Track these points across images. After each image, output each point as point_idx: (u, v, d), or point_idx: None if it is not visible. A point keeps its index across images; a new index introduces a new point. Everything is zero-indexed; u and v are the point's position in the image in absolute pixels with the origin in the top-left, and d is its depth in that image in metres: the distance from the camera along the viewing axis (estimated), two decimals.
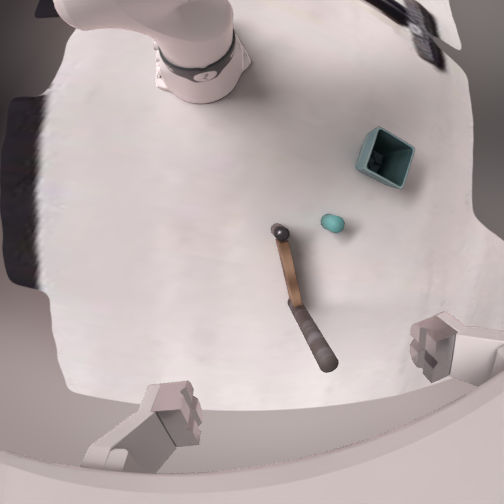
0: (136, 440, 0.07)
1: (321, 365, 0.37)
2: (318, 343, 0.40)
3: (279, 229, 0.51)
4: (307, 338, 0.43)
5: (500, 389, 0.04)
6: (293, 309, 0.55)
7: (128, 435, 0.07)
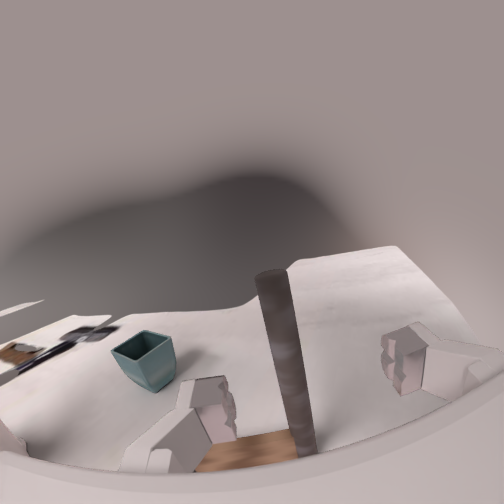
0: (176, 439, 0.07)
1: (268, 280, 0.22)
2: (265, 323, 0.24)
3: None
4: (280, 358, 0.24)
5: (500, 389, 0.04)
6: (296, 438, 0.27)
7: (168, 434, 0.07)
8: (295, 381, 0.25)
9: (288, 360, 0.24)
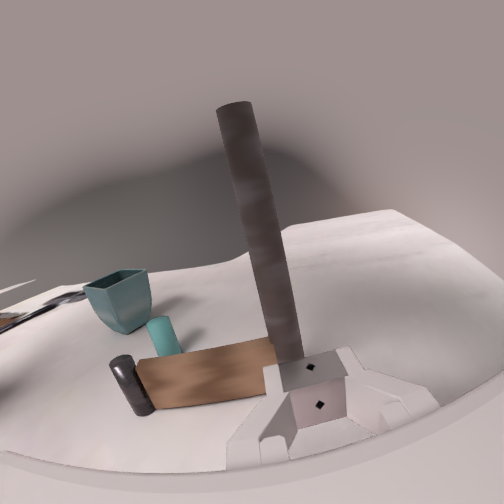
0: (276, 425, 0.07)
1: (229, 104, 0.19)
2: None
3: (111, 364, 0.24)
4: (246, 203, 0.20)
5: (500, 389, 0.04)
6: (277, 345, 0.23)
7: (271, 421, 0.07)
8: (267, 240, 0.21)
9: (256, 205, 0.20)
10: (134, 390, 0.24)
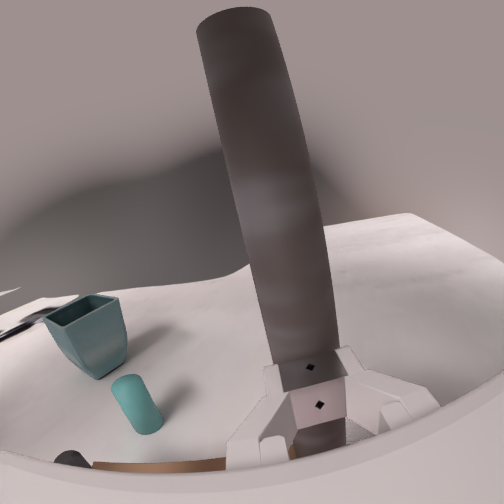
0: (275, 425, 0.07)
1: (225, 12, 0.07)
2: (220, 132, 0.09)
3: None
4: (265, 232, 0.09)
5: (500, 389, 0.04)
6: None
7: (271, 421, 0.07)
8: (311, 314, 0.09)
9: (289, 238, 0.08)
10: None
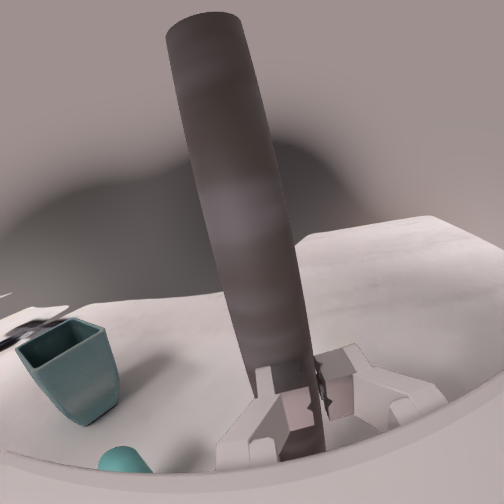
0: (266, 427, 0.07)
1: (214, 14, 0.07)
2: (196, 134, 0.08)
3: None
4: (257, 236, 0.08)
5: (500, 389, 0.04)
6: None
7: (262, 423, 0.07)
8: (298, 312, 0.09)
9: (279, 239, 0.09)
10: None
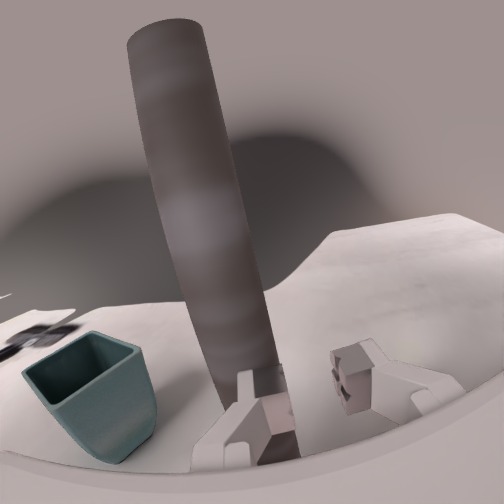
0: (244, 431, 0.07)
1: (189, 23, 0.07)
2: (171, 137, 0.07)
3: None
4: (234, 240, 0.09)
5: (500, 389, 0.04)
6: None
7: (239, 427, 0.07)
8: (267, 312, 0.10)
9: (248, 242, 0.09)
10: None
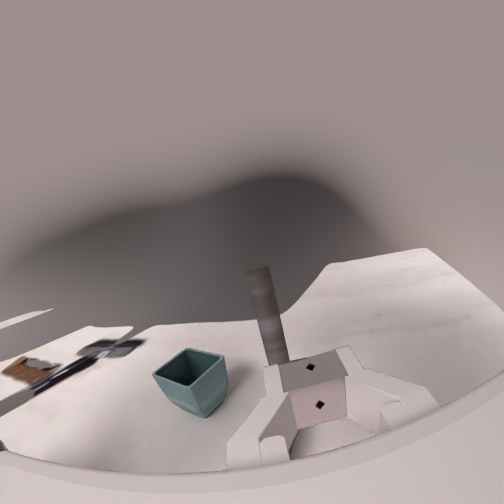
0: (276, 425, 0.07)
1: (265, 268, 0.31)
2: (263, 306, 0.32)
3: None
4: (278, 328, 0.33)
5: (500, 389, 0.04)
6: None
7: (271, 420, 0.07)
8: None
9: (281, 327, 0.33)
10: None
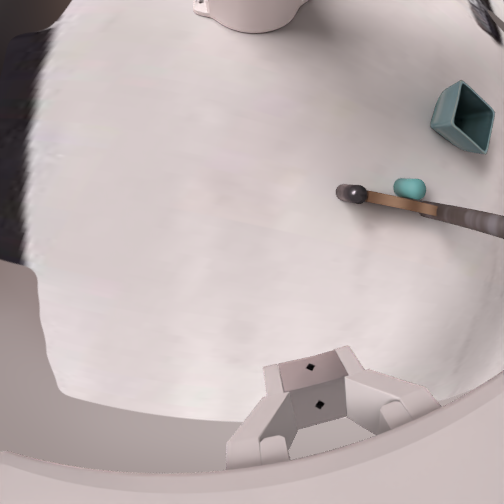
0: (276, 425, 0.07)
1: None
2: None
3: (355, 187, 0.36)
4: (489, 232, 0.27)
5: (500, 389, 0.04)
6: (437, 218, 0.38)
7: (271, 421, 0.07)
8: None
9: (490, 234, 0.27)
10: (345, 199, 0.39)
